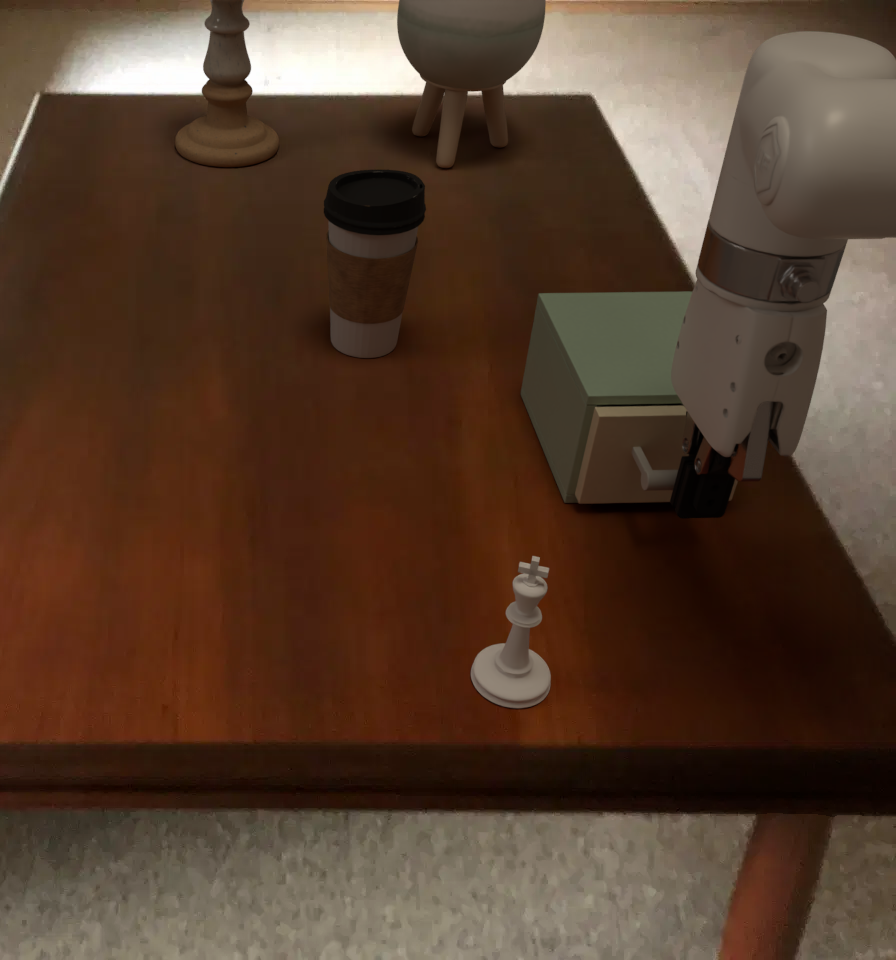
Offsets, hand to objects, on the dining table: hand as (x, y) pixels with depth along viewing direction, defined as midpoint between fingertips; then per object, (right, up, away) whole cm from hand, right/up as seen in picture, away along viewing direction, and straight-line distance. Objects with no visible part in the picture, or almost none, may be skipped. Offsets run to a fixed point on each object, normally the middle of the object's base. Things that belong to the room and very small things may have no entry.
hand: (696, 510), depth 79 cm
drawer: (-1, +3, +11) cm, 11 cm away
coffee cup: (-20, +14, +26) cm, 36 cm away
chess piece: (-14, -11, -6) cm, 18 cm away
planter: (-6, +41, +61) cm, 74 cm away
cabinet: (-1, +5, +14) cm, 15 cm away
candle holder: (-33, +41, +61) cm, 81 cm away
